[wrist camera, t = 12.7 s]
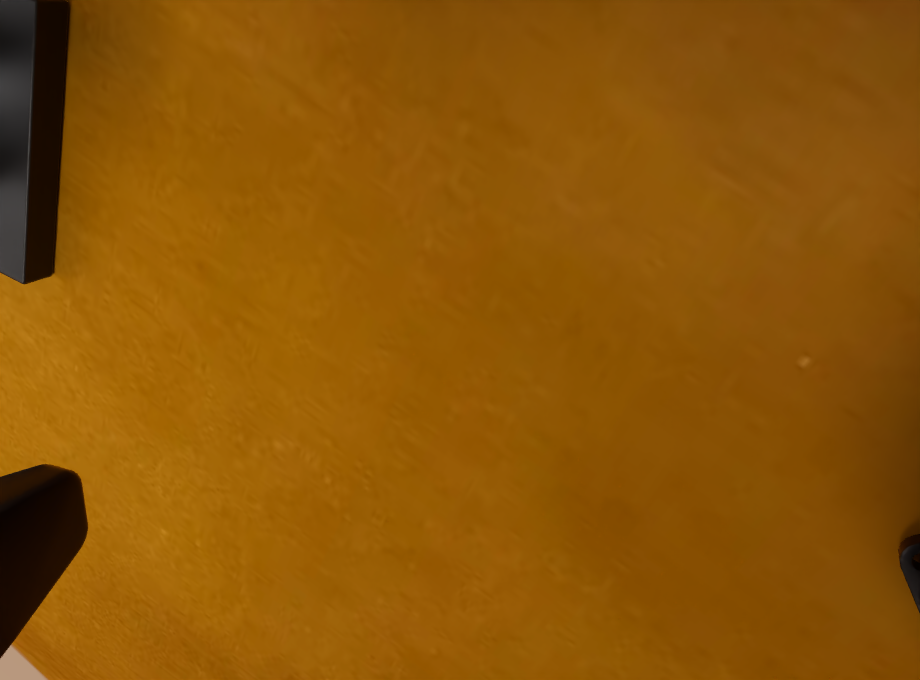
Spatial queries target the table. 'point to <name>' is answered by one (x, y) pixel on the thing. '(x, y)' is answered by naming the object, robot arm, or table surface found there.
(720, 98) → the table surface
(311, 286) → the table surface
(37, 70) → the bracket
